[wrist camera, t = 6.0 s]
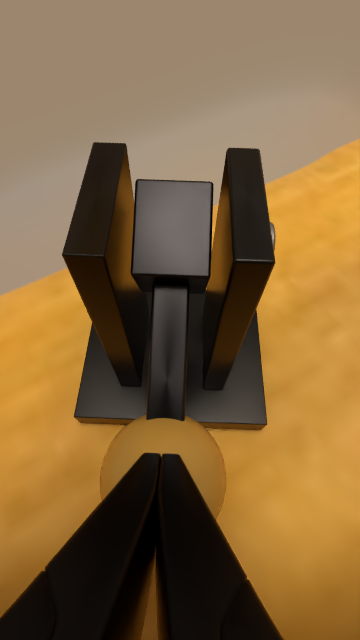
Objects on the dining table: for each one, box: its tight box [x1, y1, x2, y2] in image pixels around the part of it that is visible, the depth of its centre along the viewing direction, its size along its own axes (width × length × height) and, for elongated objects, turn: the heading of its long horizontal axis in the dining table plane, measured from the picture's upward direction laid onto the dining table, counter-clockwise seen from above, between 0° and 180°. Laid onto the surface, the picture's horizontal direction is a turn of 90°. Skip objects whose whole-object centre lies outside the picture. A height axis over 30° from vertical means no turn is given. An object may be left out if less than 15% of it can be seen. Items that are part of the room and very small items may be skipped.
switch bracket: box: [62, 142, 275, 430], centre depth 13 cm, size 8×9×11 cm
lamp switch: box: [100, 179, 226, 519], centre depth 10 cm, size 10×4×4 cm, turn 178°
